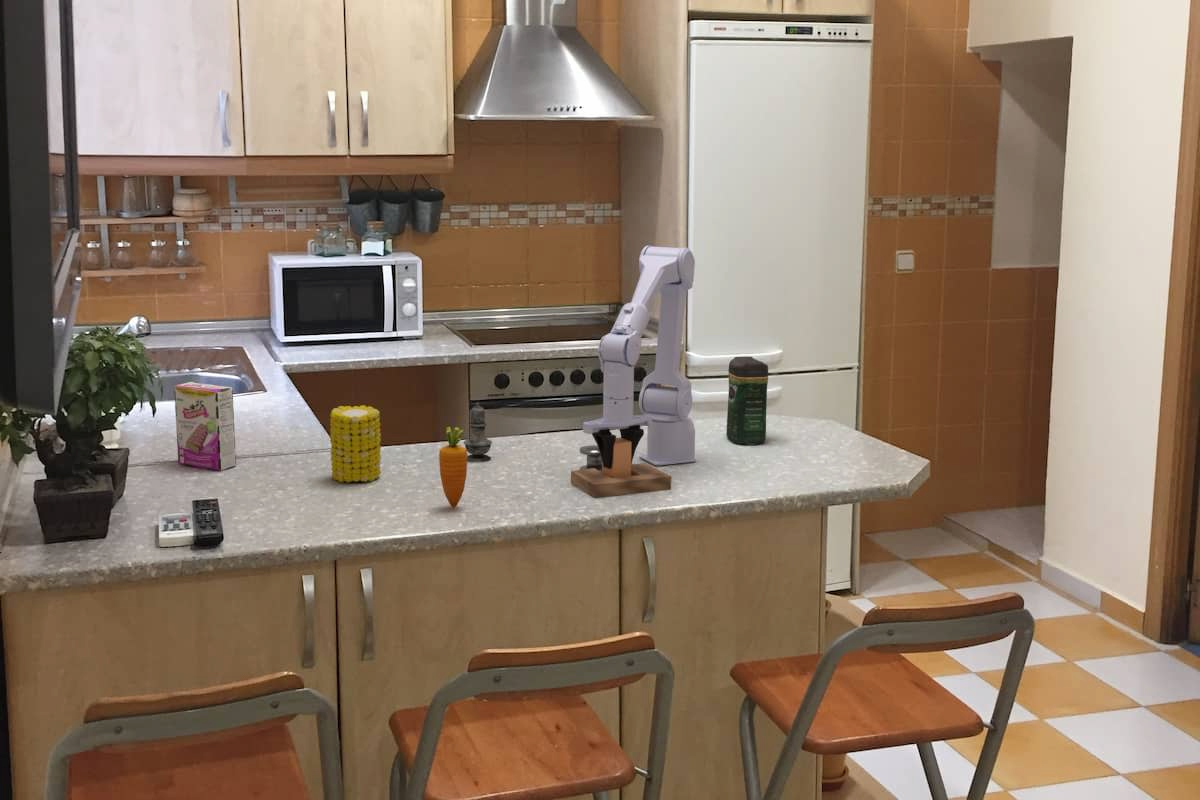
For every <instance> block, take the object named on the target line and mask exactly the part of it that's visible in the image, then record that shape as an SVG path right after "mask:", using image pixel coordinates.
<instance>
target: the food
mask: <svg viewBox="0 0 1200 800" xmlns="http://www.w3.org/2000/svg"><path fill="white" fill-rule="evenodd" d="M380 413H381V412H380V411H379V410H378V409H377V408H374V407H373V406H370V405H369V406H366V405H360V406H358V405H357V406H356V405H354V406H351V405H346V406H343V405H339V406H338V407H337V408H336V407H334V408H333V409H331V411H330V415H329V417H330V419H329V421H330V423H329V425H330V440H329V441H330V445H331V446H330V447H331V448H330V455H331V456H330V461H331V475H332V478H333V480H335V481H338V482H339V483H344V482H346V483H351V482H355V483H358V482H359V481H360V482H374V481H375V480H377V479H378V477H380V475H381V472H382V471H381V466H380V465H381V459H382V456H381V447H382V446H381V445H380V443H381V441H382V439H381V434H382V433H381V427H380V426H381V422H380V420H381V417H380Z"/></svg>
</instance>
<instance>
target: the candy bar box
mask: <svg viewBox="0 0 1200 800" xmlns="http://www.w3.org/2000/svg"><path fill="white" fill-rule="evenodd" d="M173 392H174V408H175V409H174V410H175V424H176V428H175V429H176V441H177V443H176V444H177V461H178V462H177V464H178V465H179V466H186V467H191V468H199V469H204V470H205V469H206V470H210V471H211V470H212V471H218V472H223V471H226V470H229V469H231V468H234V467H237V456H236V455H237V453H236V452H237V451H236V441H235V440H236V436H235V435H236V434H235V414H234V413H235V412H234V390H233V387H231V386H225V385H217V384H210V383H209V384H208V383H203V382H202V383H200V382H195V381H188V382H184V383H180V384H179V383H178V384H175V385H174V386H173Z"/></svg>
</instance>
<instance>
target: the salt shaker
mask: <svg viewBox="0 0 1200 800" xmlns="http://www.w3.org/2000/svg"><path fill="white" fill-rule="evenodd" d="M485 412H486V411H485V408H484V407H483V406H480V403H479V402H478V401H477V402H476V403H475V406H473V407H471V409H470V422H469V423H468V425H469V426H470V427H469V428H470V429H469V430H470V431H469V432H470V435H469V438H468V439H466V440H464V441H463V444H464V448H465V449H466V450H467V453H468V454H469V455H467V462H472V463H483V462H484V461H485V462H489V461H490V460H492V459H491V458H492V457H491V456H489V455H488V452H489V451H490V449H491V445H492V444H493V441H492V440H491V439H489V438H487V436H486V426H487V422H486V417H485V415H486V413H485Z"/></svg>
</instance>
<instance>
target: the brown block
mask: <svg viewBox="0 0 1200 800" xmlns="http://www.w3.org/2000/svg"><path fill="white" fill-rule="evenodd" d="M631 443H632V442H631V441H629V440H626V439H623V438H621V436H620V437H619V436H618V437H616V439H615V443H614V448H613V462H612V468H611V469H608V468H605V467H603V462H602V473H604V474H606V475H607V476H609V477H611V478H619V477H628V476H631Z"/></svg>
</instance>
